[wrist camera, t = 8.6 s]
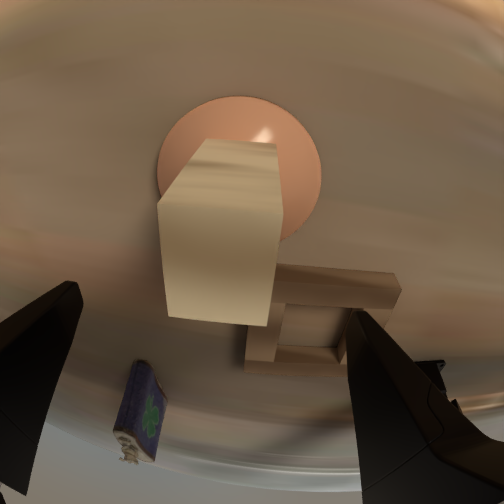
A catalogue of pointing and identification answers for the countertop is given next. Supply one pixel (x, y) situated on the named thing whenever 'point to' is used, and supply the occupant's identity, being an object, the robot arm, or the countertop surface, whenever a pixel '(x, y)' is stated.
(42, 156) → the countertop surface
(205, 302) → the maple block
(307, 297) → the pocket board
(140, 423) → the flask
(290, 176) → the terracotta plate
